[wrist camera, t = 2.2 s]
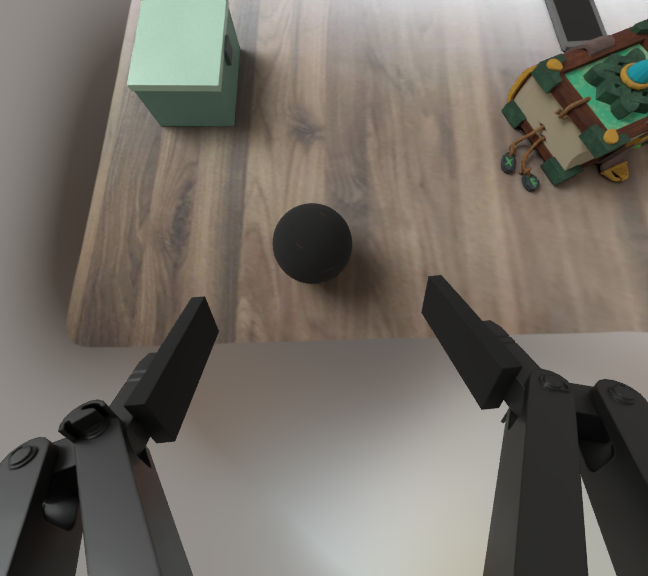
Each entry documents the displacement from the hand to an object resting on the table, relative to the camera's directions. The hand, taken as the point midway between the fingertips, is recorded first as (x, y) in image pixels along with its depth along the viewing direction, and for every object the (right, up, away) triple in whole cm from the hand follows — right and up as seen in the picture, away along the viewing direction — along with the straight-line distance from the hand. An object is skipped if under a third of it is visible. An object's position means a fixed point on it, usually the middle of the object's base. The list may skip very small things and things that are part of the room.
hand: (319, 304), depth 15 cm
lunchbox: (-20, +35, +27) cm, 49 cm away
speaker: (-1, +6, +22) cm, 23 cm away
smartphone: (+46, +51, +31) cm, 75 cm away
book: (+40, +26, +26) cm, 55 cm away
